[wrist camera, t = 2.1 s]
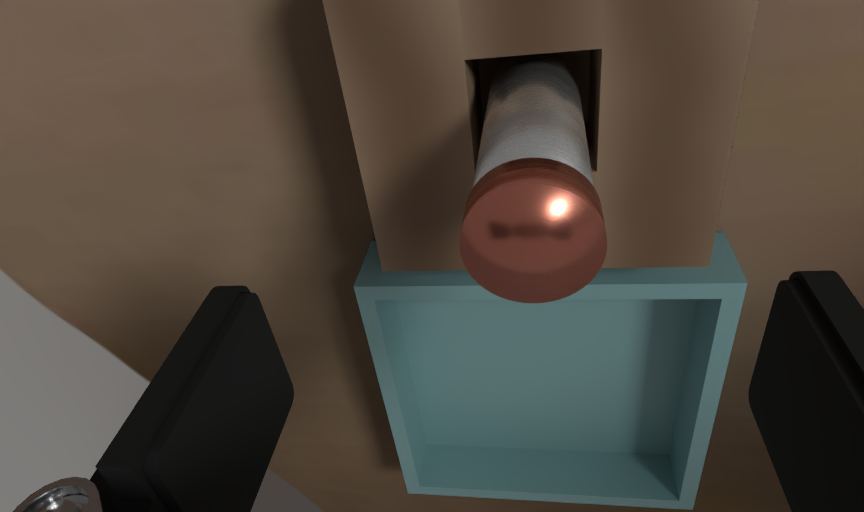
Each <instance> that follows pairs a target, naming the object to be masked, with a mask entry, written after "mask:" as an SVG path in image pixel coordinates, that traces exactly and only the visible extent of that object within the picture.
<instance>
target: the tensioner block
mask: <svg viewBox="0 0 864 512" xmlns="http://www.w3.org/2000/svg"><path fill="white" fill-rule="evenodd" d="M322 2H323V6H324V11H325V15H326V20H327V24H328V29H329V33H330V38H331V42H332V47H333V51H334V56H335V60H336V65H337V69H338V73H339V78H340V82H341V87H342V91H343V96H344V100H345V105H346V109H347V114H348V118H349V123H350V127H351V132H352V136H353V141H354V145H355V150H356V154H357V159H358V163H359V168H360V172H361V177H362V181H363V186H364V190H365V195H366V199H367V204H368V208H369V213H370V217H371V222H372V226H373V231H374V235H375V240H376V244H377V249H378V253H379V258H380V262H381V267H382V271H440V270H466V268H465V266H464V264H463V261H462V259H461V255H460V250H459V240H460V232H461V227H462V221H463V216H464V211H465V205H466V202H467V198H468V196H469V194H470V192H471V190H472V189H473V183H474V178H475V172H476V166H477V160H478V154H479V149H480V143H481V137H482V131H483V125H484V120H485V114H486V108H487V102H488V96H489V91H490V85H491V79H492V73H493V67H494V63H495V60H496V58H497V57H507V56H519V55H531V54H544V53H556V52H568V51H571V53H572V55H573V58H574V61H575V67H576V73H577V80H578V86H579V93H580V99H581V106H582V112H583V118H584V125H585V131H586V138H587V144H588V151H589V157H590V164H591V170H592V177H593V183H594V188H595V190H596V191H597V193H598V196H599V198H600V201H601V206H602V212H603V218H604V224H605V230H606V236H607V252H606V257H605V260H604V263H603V265H602V267H601V268H651V267H709V266H710V260H711V255H712V250H713V244H714V239H715V234H716V228H717V223H718V218H719V213H720V207H721V202H722V197H723V191H724V186H725V181H726V175H727V170H728V165H729V160H730V154H731V149H732V144H733V138H734V133H735V128H736V122H737V117H738V112H739V106H740V101H741V96H742V91H743V85H744V80H745V75H746V69H747V64H748V59H749V53H750V48H751V43H752V38H753V32H754V27H755V22H756V16H757V11H758V6H759V0H322Z"/></svg>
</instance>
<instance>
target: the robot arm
mask: <svg viewBox="0 0 864 512" xmlns="http://www.w3.org/2000/svg"><path fill="white" fill-rule="evenodd" d="M293 397H294V390H293V385H292V382H291V380H290V377H289V374H288V372H287V369H286V367H285V364H284V362H283V359H282V356H281V354H280V351H279V349H278V346H277V343H276V341H275V338H274V336H273V333H272V331H271V328H270V325H269V323H268V320H267V318H266V315H265V313H264V310H263V307H262V305H261V302H260V300H259V297H258V296H257V295H256V294H255V293H251V292H250V291H249V289H248V288H247V287H246V286H217V287H214V288H213V289H212V290H211V291H210V293H209V294H208V296H207V297H206V299H205V300H204V302H203V303H202V305H201V306H200V308H199V309H198V311H197V312H196V314H195V316H194V317H193V319H192V320H191V322H190V323H189V325H188V326H187V328H186V329H185V331H184V332H183V334H182V335H181V337H180V338H179V340H178V341H177V343H176V344H175V346H174V348H173V349H172V351H171V352H170V354H169V355H168V357H167V358H166V360H165V361H164V363H163V364H162V366H161V367H160V369H159V370H158V372H157V373H156V375H155V377H154V378H153V380H152V381H151V383H150V384H149V386H148V387H147V389H146V390H145V392H144V393H143V395H142V396H141V398H140V400H139V401H138V402H137V404H136V405H135V407H134V409H133V410H132V412H131V413H130V415H129V416H128V418H127V419H126V421H125V422H124V424H123V425H122V427H121V429H120V430H119V431H118V433H117V435H116V436H115V438H114V439H113V441H112V442H111V444H110V445H109V447H108V448H107V450H106V451H105V453H104V454H103V456H102V458H101V459H100V460H99V462H98V464H97V465H96V468H97V470H96V471H95V473H94V474H93V476H92V477H91V479H90V480H88V479H86V478H79V477H71V478H65V479H60V480H58V481H55V482H53V483H50V484H48V485H46V486H44V487H42V488H41V489H39V490H38V491H36V492H34V493H33V494H31V495H30V496H29V497H28V498H26V500H24V501H23V502H22V503H21V504H20V505H19V506H17V508H16V509H15V510H14V511H13V512H250V511H251V509H252V506H253V503H254V501H255V498H256V496H257V493H258V491H259V488H260V486H261V483H262V480H263V478H264V475H265V472H266V470H267V467H268V465H269V462H270V460H271V457H272V455H273V452H274V449H275V447H276V444H277V442H278V439H279V437H280V434H281V431H282V429H283V426H284V424H285V421H286V419H287V416H288V413H289V411H290V408H291V406H292V402H293ZM749 402H750V407H751V410H752V413H753V415H754V418H755V420H756V423H757V425H758V428H759V430H760V433H761V435H762V438H763V440H764V443H765V445H766V448H767V450H768V453H769V455H770V458H771V460H772V463H773V465H774V468H775V470H776V473H777V475H778V478H779V480H780V483H781V486H782V488H783V491H784V493H785V496H786V498H787V501H788V503H789V506H790V508H791V511H792V512H864V309H863V308H862V306H861V305H860V304H859V302H858V301H857V299H856V298H855V297H854V295H853V294H852V292H851V291H850V290H849V288H848V287H847V285H846V284H845V282H844V281H843V280H842V278H841V277H840V276H839V275H838V274H837V273H836V272H834V271H796V272H793V273H792V274H791V276H790V278H789V280H783V281H780V283H779V284H778V286H777V289H776V293H775V297H774V300H773V304H772V307H771V311H770V315H769V318H768V322H767V325H766V329H765V333H764V336H763V340H762V343H761V347H760V351H759V354H758V358H757V361H756V365H755V369H754V372H753V376H752V379H751V383H750V387H749Z"/></svg>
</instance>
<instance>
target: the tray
mask: <svg viewBox="0 0 864 512" xmlns="http://www.w3.org/2000/svg"><path fill="white" fill-rule="evenodd" d="M747 284H748V283H747V281H746V278H745V276H744V274H743V272H742V270H741V267H740V265H739V263H738V261H737V259H736V256H735V254H734V252H733V250H732V248H731V245H730V243H729V241H728V239H727V237H726V234H725V232H720V233H716V234H715V239H714V244H713V250H712V255H711V260H710V266H709V267H651V268H601V269H600V270H599V272H598V273H597V275H596V276H595V277H594V278H593V279H592V281H591V282H590V283H588V284H587V285H586V286H585V287H584V288H582V289H581V290H579V291H578V292H576V293H574V294H572V295H570V296H568V297H565V298H563V299H560V300H556V301H552V302H546V303H521V302H515V301H511V300H507V299H504V298H501V297H499V296H497V295H494V294H492V293H491V292H489V291H487V290H486V289H484V288H483V287H482V286H480V285H479V284H478V283H477V282H476V281H475V280H474V279H473V278H472V277H471V275H470V274H469V273H468V271H467V270H440V271H382V267H381V262H380V258H379V253H378V249H377V244H376V241H371V243H370V245H369V248H368V251H367V253H366V256H365V258H364V261H363V264H362V266H361V269H360V271H359V274H358V277H357V279H356V282H355V284H354V290H355V294H356V298H357V302H358V306H359V309H360V313H361V317H362V321H363V324H364V328H365V332H366V336H367V340H368V343H369V347H370V351H371V355H372V359H373V362H374V366H375V370H376V374H377V377H378V381H379V385H380V389H381V393H382V396H383V400H384V404H385V408H386V412H387V415H388V419H389V423H390V427H391V430H392V434H393V438H394V442H395V446H396V449H397V453H398V457H399V461H400V465H401V468H402V472H403V476H404V480H405V484H406V487H407V491H408V493H412V494H429V495H446V496H463V497H480V498H497V499H515V500H532V501H549V502H566V503H583V504H600V505H617V506H634V507H651V508H668V509H685V510H693V507H694V503H695V499H696V495H697V491H698V486H699V482H700V478H701V474H702V470H703V466H704V462H705V457H706V453H707V449H708V445H709V441H710V437H711V433H712V429H713V424H714V420H715V416H716V412H717V408H718V404H719V400H720V395H721V391H722V387H723V383H724V379H725V375H726V371H727V366H728V362H729V358H730V354H731V350H732V346H733V342H734V337H735V333H736V329H737V325H738V321H739V317H740V313H741V308H742V304H743V300H744V296H745V292H746V288H747Z"/></svg>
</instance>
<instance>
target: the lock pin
mask: <svg viewBox="0 0 864 512" xmlns="http://www.w3.org/2000/svg"><path fill="white" fill-rule="evenodd" d="M459 250H460V255H461V259H462V261H463V264H464V266H465V268H466V270H467V271H468V273H469V274H470V275H471V277H472V278H473V279H474V280H475V281H476V282H477V283H478V284H479V285H480V286H482V287H483V288H484V289H486V290H487V291H489V292H491V293H492V294H494V295H497V296H499V297H501V298H504V299H507V300H511V301H515V302H521V303H546V302H552V301H556V300H560V299H563V298H565V297H568V296H570V295H572V294H574V293H576V292H578V291H579V290H581V289H582V288H584V287H585V286H586V285H587V284H588V283H590V282H591V281H592V279H593V278H594V277H595V276H596V275H597V273H598V272H599V270H600V269H601V267H602V265H603V263H604V260H605V257H606V252H607V236H606V230H605V224H604V218H603V212H602V206H601V201H600V198H599V196H598V193H597V191H596V190H595V188H594V183H593V177H592V170H591V164H590V157H589V151H588V144H587V138H586V131H585V125H584V118H583V112H582V106H581V99H580V93H579V86H578V80H577V73H576V67H575V61H574V58H573V55H572V53H571V51H568V52H556V53H544V54H531V55H519V56H507V57H497V58H496V60H495V63H494V67H493V73H492V79H491V85H490V91H489V96H488V102H487V108H486V114H485V120H484V125H483V131H482V137H481V143H480V149H479V154H478V160H477V166H476V172H475V178H474V183H473V189H472V190H471V192H470V194H469V196H468V198H467V202H466V205H465V211H464V216H463V221H462V227H461V232H460V240H459Z"/></svg>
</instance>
